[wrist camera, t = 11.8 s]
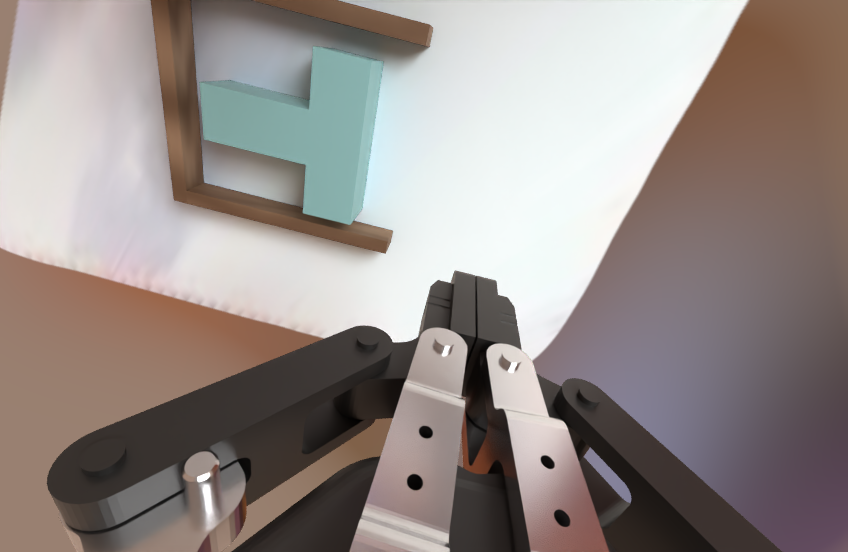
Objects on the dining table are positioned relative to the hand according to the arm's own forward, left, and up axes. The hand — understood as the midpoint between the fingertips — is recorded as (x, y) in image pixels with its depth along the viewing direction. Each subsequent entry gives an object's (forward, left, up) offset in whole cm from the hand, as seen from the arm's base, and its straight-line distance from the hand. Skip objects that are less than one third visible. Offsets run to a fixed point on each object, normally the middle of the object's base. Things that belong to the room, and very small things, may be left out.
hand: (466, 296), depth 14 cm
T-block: (0, -14, -21) cm, 25 cm away
